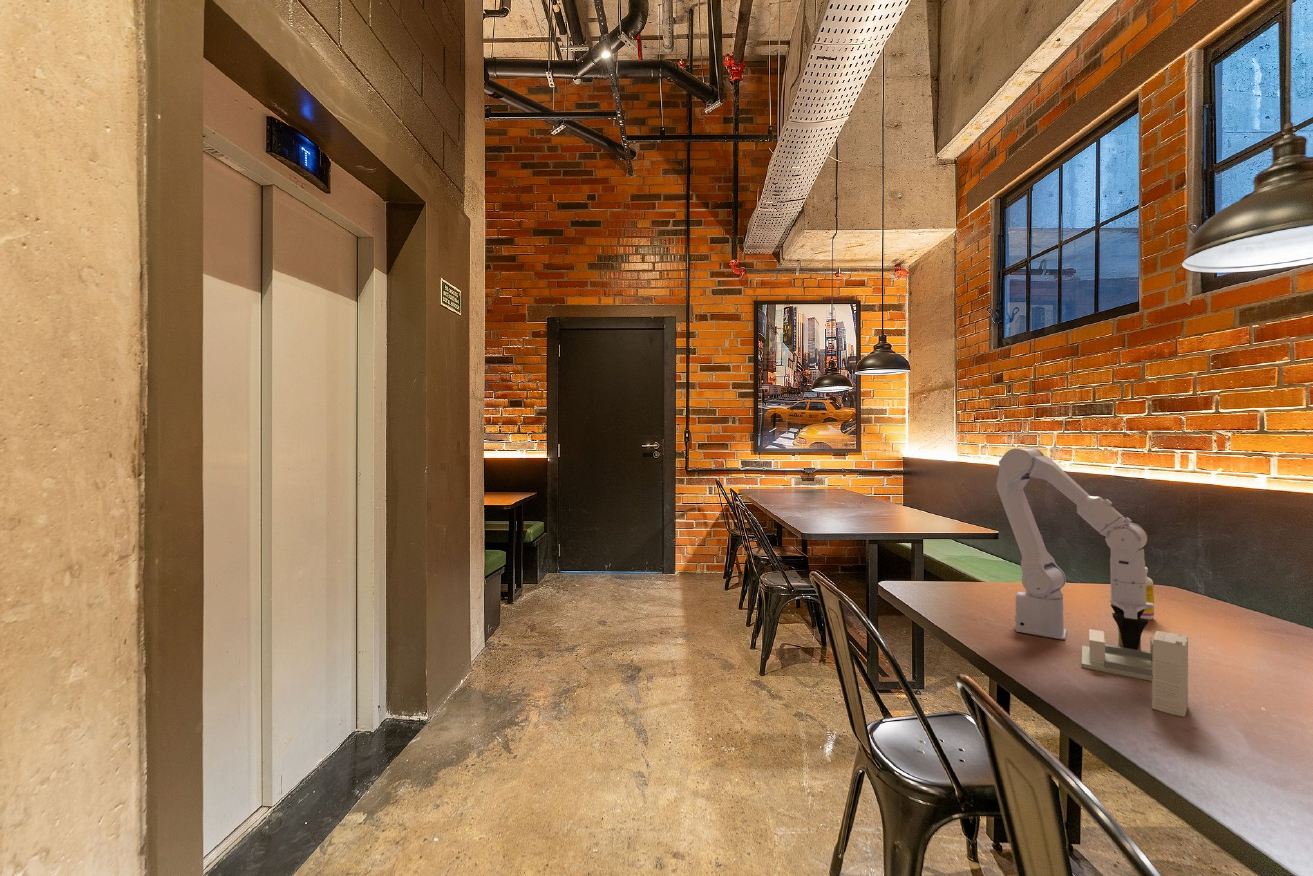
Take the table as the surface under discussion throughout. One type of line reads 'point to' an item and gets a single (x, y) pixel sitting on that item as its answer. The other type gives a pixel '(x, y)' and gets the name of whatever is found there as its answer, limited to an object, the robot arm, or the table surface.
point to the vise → (1115, 658)
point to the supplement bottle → (1148, 597)
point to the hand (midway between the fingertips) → (1129, 644)
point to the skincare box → (1170, 673)
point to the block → (1122, 643)
